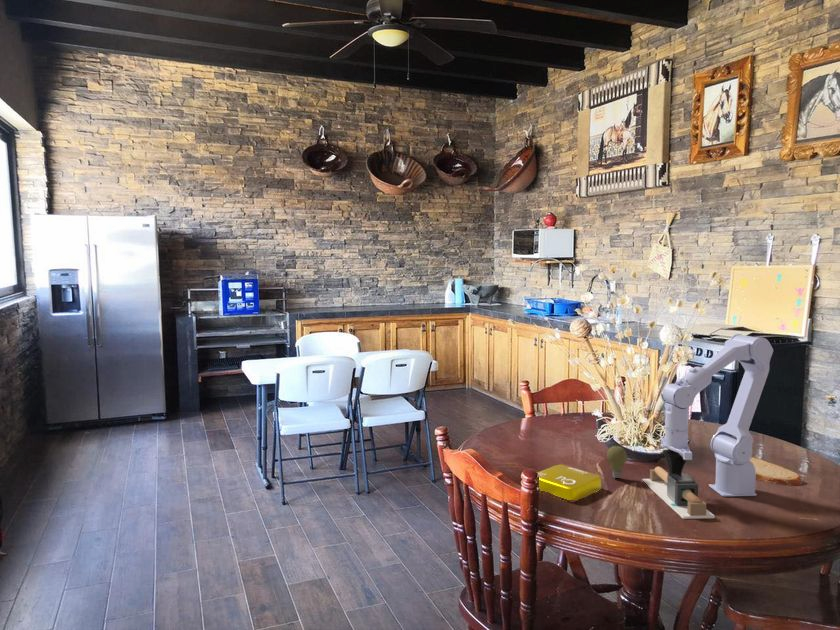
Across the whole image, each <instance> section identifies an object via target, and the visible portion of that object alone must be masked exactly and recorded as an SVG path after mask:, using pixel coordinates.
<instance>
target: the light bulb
mask: <svg viewBox="0 0 840 630" xmlns="http://www.w3.org/2000/svg"><path fill="white" fill-rule="evenodd" d="M606 457H607V460H608V463H609V464H610V468H611V470H612V477H613V478H614V479H615V478H619V479H620V478H622V471H623V468H624V465H625V464H626V461H627V459H628V456H627V451H626V450H625V449H624V448H623V447H622V446H619V445H613V446H611V447H609V448H608V450H607V453H606Z"/></svg>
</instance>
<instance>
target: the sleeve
mask: <svg viewBox="0 0 840 630" xmlns="http://www.w3.org/2000/svg"><path fill="white" fill-rule="evenodd" d="M675 483H696V479H695V478H693V477H692V476H691V475H689V474H688V473H681V474H670V473H669V474H668V475H667V496H668V497H670V498H671V499H672V500H673V501H674V502H675ZM689 490H690V491H691V492H692V489H689ZM681 499H684V498H683V497H682V496H681Z"/></svg>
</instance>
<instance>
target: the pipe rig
mask: <svg viewBox="0 0 840 630" xmlns="http://www.w3.org/2000/svg"><path fill="white" fill-rule="evenodd" d="M668 474H670V473H669V472H667V470H665V469H664V468H662V467H661V466H656V467H654V469H651V468H650V469H649V478H642V480H643V481H644V482H645V483H646V484H647V485H648V486H647V485H646V484H645V483H644V482H643V481H642V482H643V483H644V484H645V485H646V486H647V487H648V488H650V489H651V491H653V492H654V493H655V494H656V495H657V496H658V497H659V498H660V499H661V500H662V501H664V502H665V504H667V506H669V507H670V508H671V509H672V510H673V511H674V512H675V513H676V514H677V515H679V516H680V518H681V519H683V520H686V519H688V520H689V519H693V520H694V519H695V520H696V519H715V518H716V516H715V515H714V514H713V513H712V512H711V511H710V510H708V509H707V503H706V502H705V501H703V500H701V499H700V498H699V496H698V497H697V496H696V495H694V494H693V493H692V492H691V491H690V490H689V489H681V496H682V497H683V498H684V499H686V500H687V501H688V505H676V504H675V502H674V501H673V500H672V499H671V498H670V497H668V496H667V475H668Z"/></svg>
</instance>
